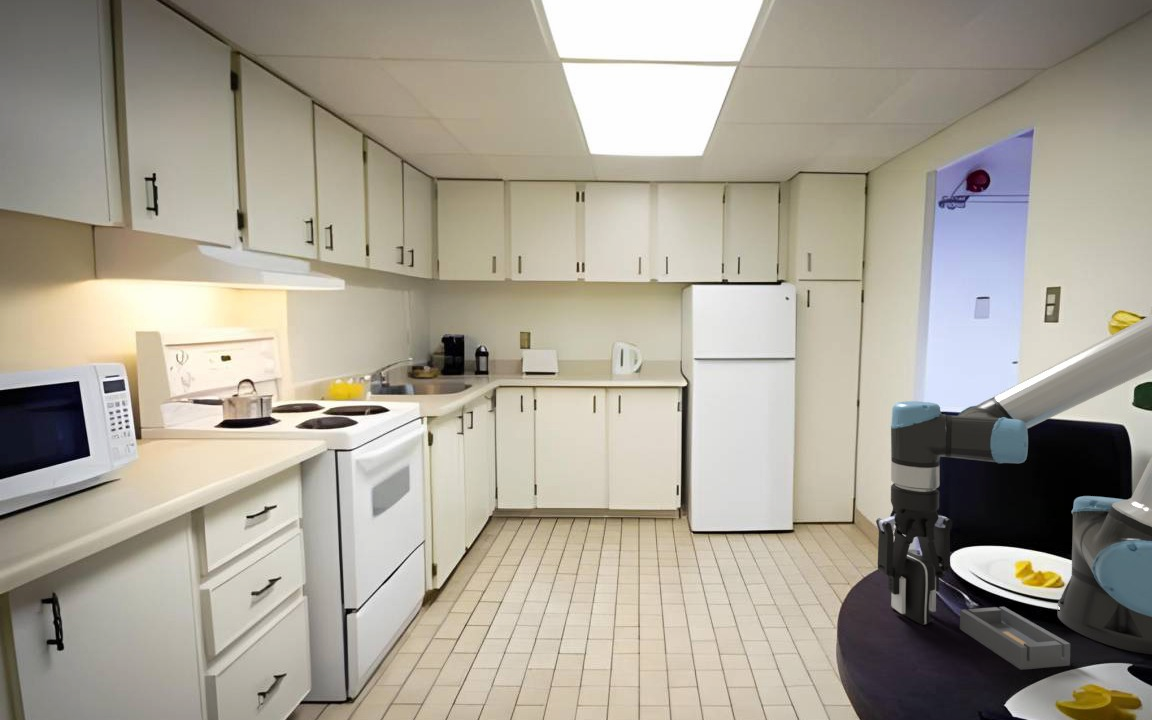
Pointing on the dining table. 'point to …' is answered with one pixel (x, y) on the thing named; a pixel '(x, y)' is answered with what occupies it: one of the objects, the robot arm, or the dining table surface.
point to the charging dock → (1015, 638)
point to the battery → (918, 587)
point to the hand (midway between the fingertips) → (913, 608)
